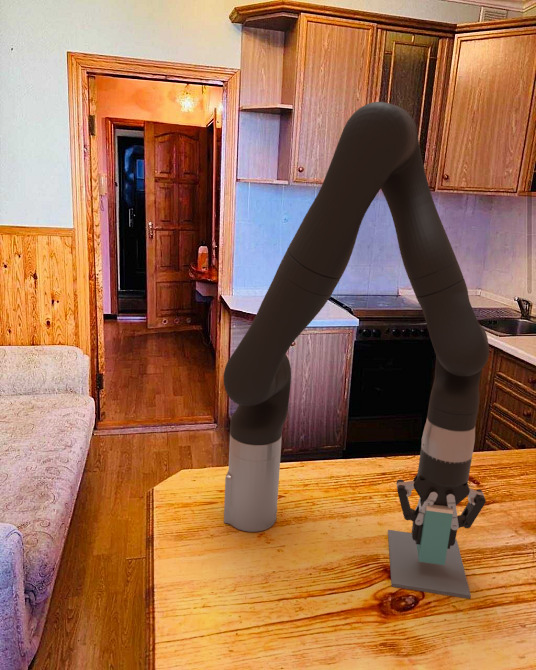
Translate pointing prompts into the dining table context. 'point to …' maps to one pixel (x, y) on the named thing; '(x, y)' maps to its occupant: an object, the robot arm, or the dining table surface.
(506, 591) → the dining table surface
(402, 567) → the mat
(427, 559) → the block
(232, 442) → the robot arm
